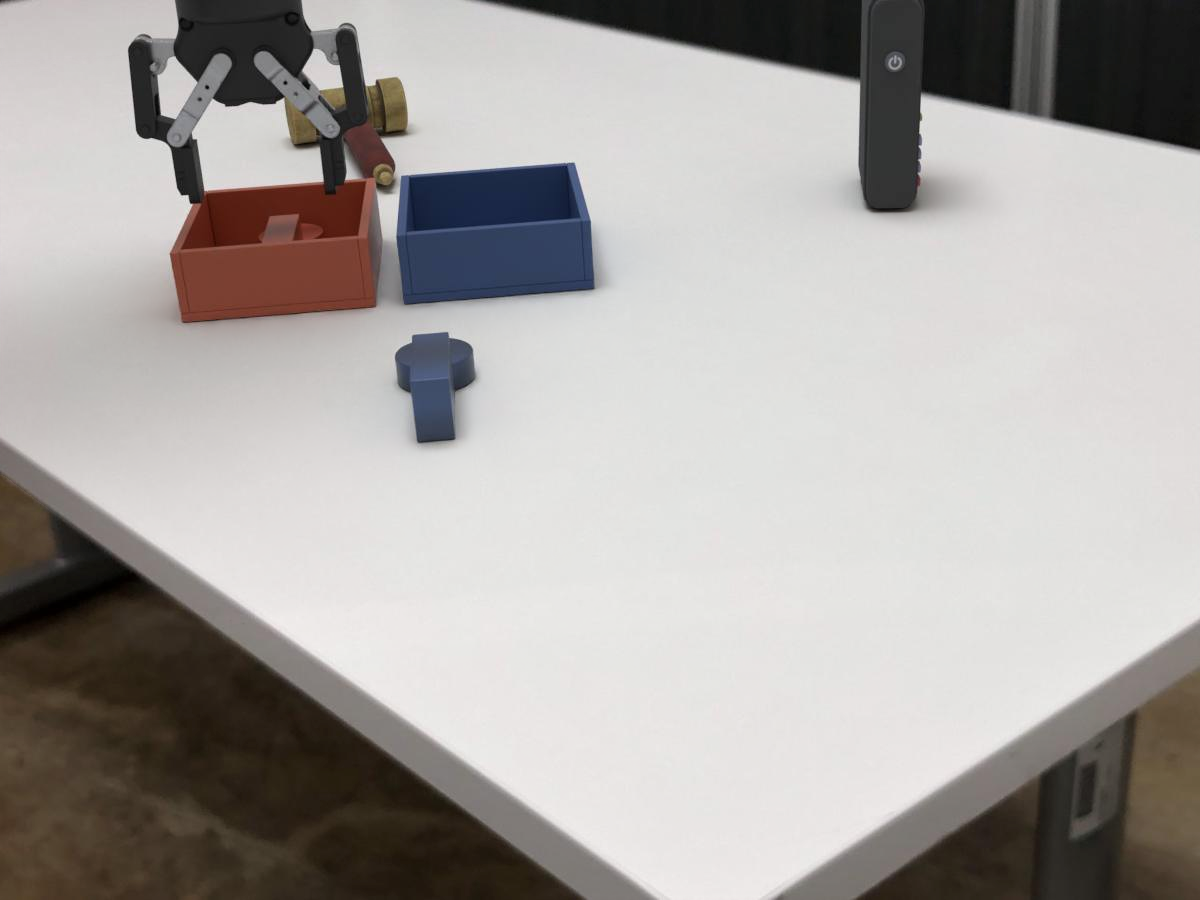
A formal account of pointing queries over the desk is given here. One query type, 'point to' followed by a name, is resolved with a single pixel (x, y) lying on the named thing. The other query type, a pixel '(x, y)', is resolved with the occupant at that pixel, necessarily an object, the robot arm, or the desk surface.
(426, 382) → the blue disc with bar
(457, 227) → the blue bin
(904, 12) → the card reader
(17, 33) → the desk surface
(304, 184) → the red bin
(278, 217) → the red bar with disc
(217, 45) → the robot arm
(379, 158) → the gavel
